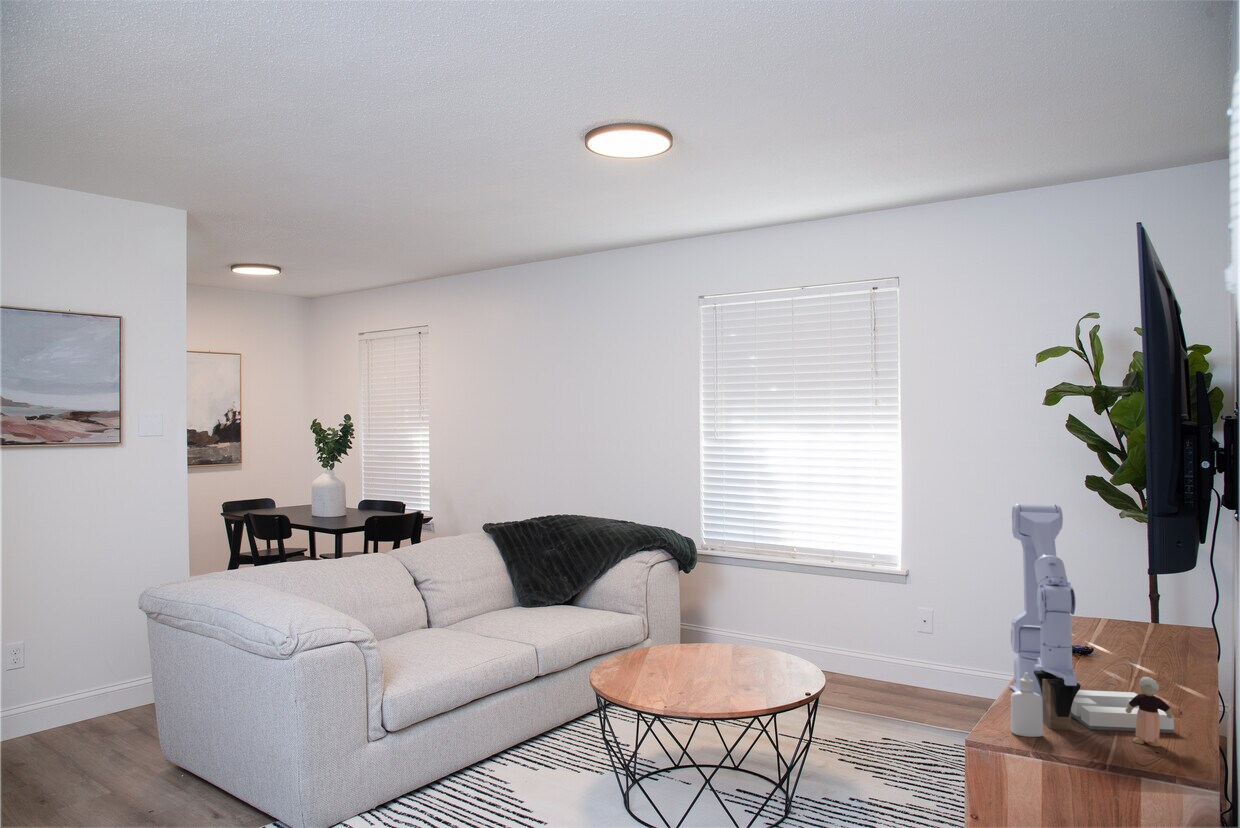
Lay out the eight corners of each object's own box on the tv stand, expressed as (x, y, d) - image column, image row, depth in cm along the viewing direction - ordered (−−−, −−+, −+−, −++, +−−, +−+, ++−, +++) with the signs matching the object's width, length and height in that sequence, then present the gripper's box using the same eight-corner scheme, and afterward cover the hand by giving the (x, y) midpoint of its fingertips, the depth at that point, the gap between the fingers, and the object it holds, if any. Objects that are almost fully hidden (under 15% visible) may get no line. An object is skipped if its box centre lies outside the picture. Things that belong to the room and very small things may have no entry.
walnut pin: (1042, 722, 174) (1042, 678, 174) (1062, 723, 174) (1062, 679, 174) (1050, 729, 170) (1050, 684, 170) (1071, 730, 170) (1070, 685, 170)
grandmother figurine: (1128, 743, 162) (1128, 677, 163) (1124, 737, 166) (1124, 672, 166) (1175, 749, 159) (1174, 681, 160) (1170, 742, 163) (1169, 676, 163)
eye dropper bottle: (1014, 728, 170) (1014, 668, 171) (1044, 734, 167) (1044, 673, 167) (1008, 733, 167) (1008, 672, 167) (1039, 740, 163) (1039, 677, 164)
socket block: (1057, 705, 186) (1057, 689, 186) (1133, 708, 184) (1133, 692, 185) (1089, 729, 170) (1089, 711, 170) (1173, 733, 169) (1173, 715, 169)
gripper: (1022, 636, 180) (1023, 700, 180) (1049, 652, 166) (1050, 722, 165) (1057, 637, 179) (1057, 701, 179) (1087, 653, 165) (1088, 724, 165)
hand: (1056, 711), depth 172 cm, fingers open, 5 cm apart
